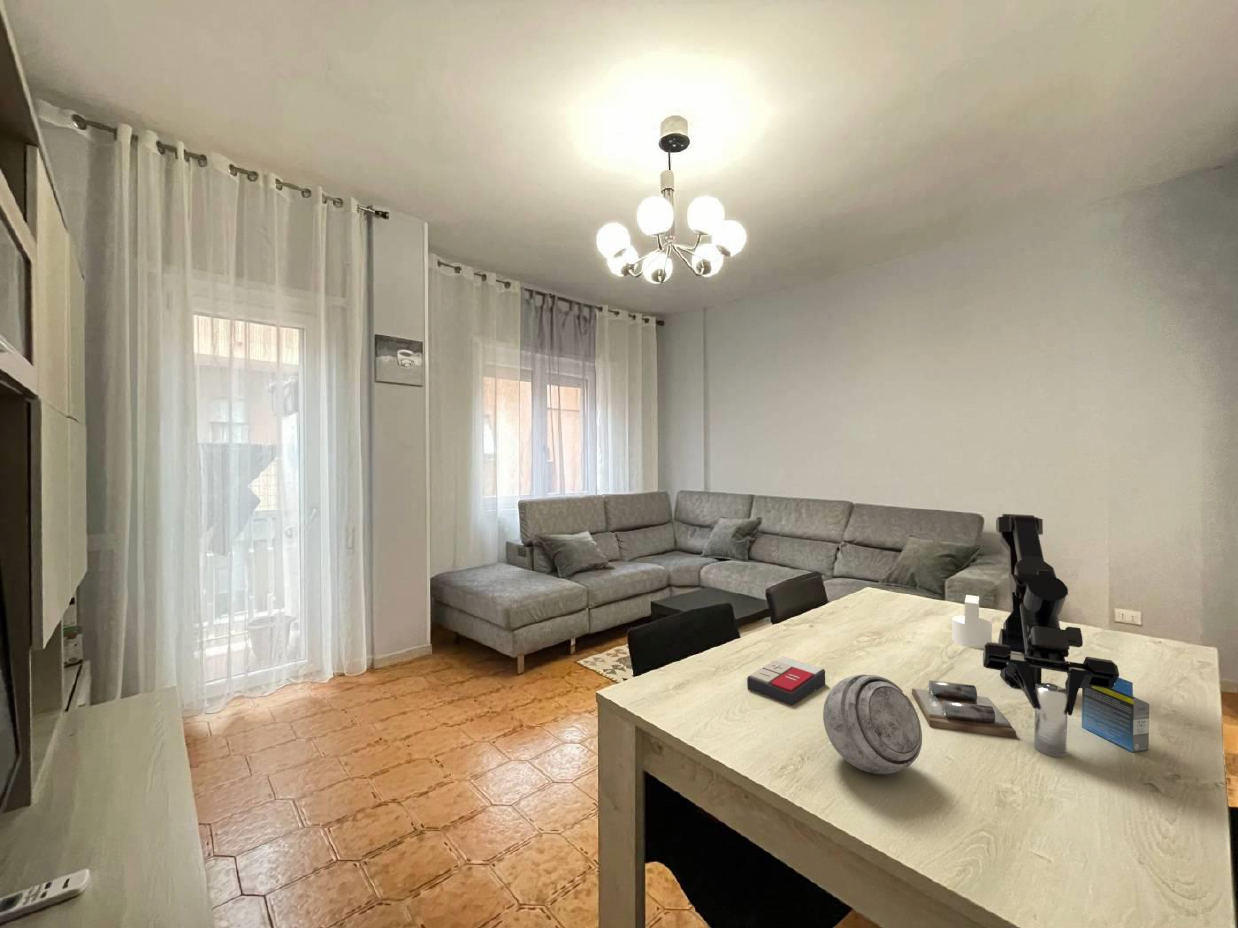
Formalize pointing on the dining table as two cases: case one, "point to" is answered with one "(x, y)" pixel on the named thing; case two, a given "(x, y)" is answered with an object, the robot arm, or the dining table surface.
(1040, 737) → the hinge barrel
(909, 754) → the decorative orb
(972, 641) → the cylinder with rectangular tab
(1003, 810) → the dining table surface
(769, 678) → the calculator
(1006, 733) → the board
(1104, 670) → the robot arm
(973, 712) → the hinge leaves
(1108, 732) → the ink cartridge box
